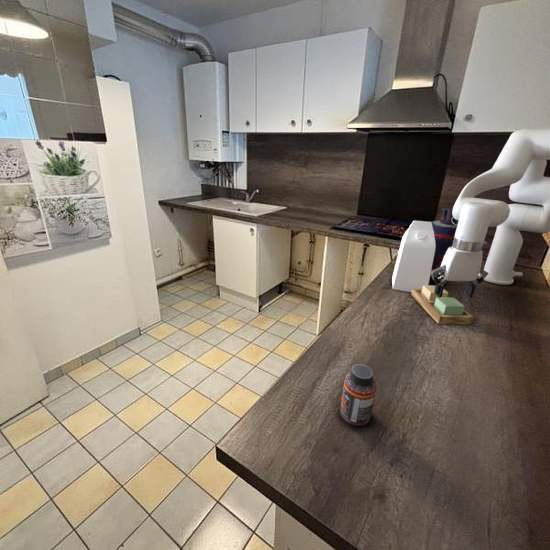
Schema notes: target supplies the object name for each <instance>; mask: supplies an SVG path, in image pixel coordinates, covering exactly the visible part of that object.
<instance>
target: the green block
mask: <svg viewBox="0 0 550 550" xmlns="http://www.w3.org/2000/svg"><path fill="white" fill-rule="evenodd" d="M465 307H466V306H465V305H464V304H463V303H462V302H460V301H459V300H457V298H455V297H450V298H446V297H436V300H435V304H434V308H435V309H436V310H437V311H438V312H439V313H440V314H441V315H461V316H462V314H463V311H464V309H465Z"/></svg>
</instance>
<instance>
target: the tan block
mask: <svg viewBox="0 0 550 550" xmlns="http://www.w3.org/2000/svg"><path fill="white" fill-rule="evenodd" d="M435 286H436V285H433V284H432V285H430V284H428V285H423V287H422V292H421V295H422V296H423V297H424V298H425V299H426V300H427V301H435V300H436V297H438V296H437V295H436V294H435V292H434V290H435ZM447 296H449V292H448V291H447V290H446V289H444V290H443V294H442V297H446V298H447Z"/></svg>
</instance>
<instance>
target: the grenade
mask: <svg viewBox="0 0 550 550" xmlns="http://www.w3.org/2000/svg"><path fill="white" fill-rule="evenodd" d="M452 211H453V207H451V206H450V207H442V208H441V217H440V218H439V220H432V221H430V222H431V223H432V227H433V231H434V237H435V245H436V247H435V253H434V258H433V263H432V269H431V271H432V270H435V269H437V268H439V267H441V264H442V261H443V258H444V256H445V254H446V252H447V250H448V248H449V247H452V244H453V240H454V237H455V233H456V229H457V225H458V220H456V219H455V218H454V217H453V215H452ZM440 276H441V275H439V274H438V275H437V277H440ZM441 281H442V280H441ZM449 282H450V281H447V282H446V283H445V284H444V285H443V286H445V285H447V283H449ZM429 283H433V284H436V282H435V281H434V280H433V279H432V275H431V274H430V279H429Z"/></svg>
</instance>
